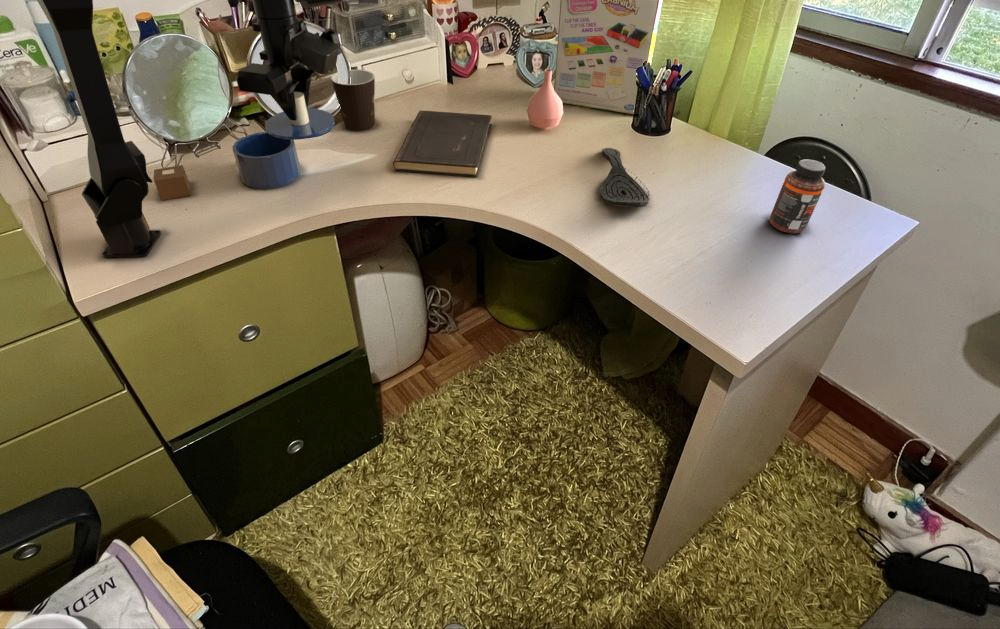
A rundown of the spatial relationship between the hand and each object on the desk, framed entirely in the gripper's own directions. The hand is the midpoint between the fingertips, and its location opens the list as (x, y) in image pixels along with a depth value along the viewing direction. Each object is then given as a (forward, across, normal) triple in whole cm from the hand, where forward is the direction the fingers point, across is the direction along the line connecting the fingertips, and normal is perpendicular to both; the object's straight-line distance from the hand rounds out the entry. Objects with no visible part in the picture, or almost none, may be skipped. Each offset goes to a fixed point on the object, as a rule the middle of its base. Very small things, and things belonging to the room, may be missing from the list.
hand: (298, 116), depth 96 cm
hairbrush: (+13, +18, -53) cm, 57 cm away
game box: (+13, +53, -44) cm, 70 cm away
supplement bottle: (+13, +12, -82) cm, 84 cm away
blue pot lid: (+2, 0, 0) cm, 2 cm away
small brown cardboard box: (+12, -10, +21) cm, 27 cm away
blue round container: (+13, +1, +9) cm, 15 cm away
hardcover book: (+13, +22, -18) cm, 31 cm away
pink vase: (+13, +37, -34) cm, 52 cm away
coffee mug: (+13, +27, +3) cm, 30 cm away
